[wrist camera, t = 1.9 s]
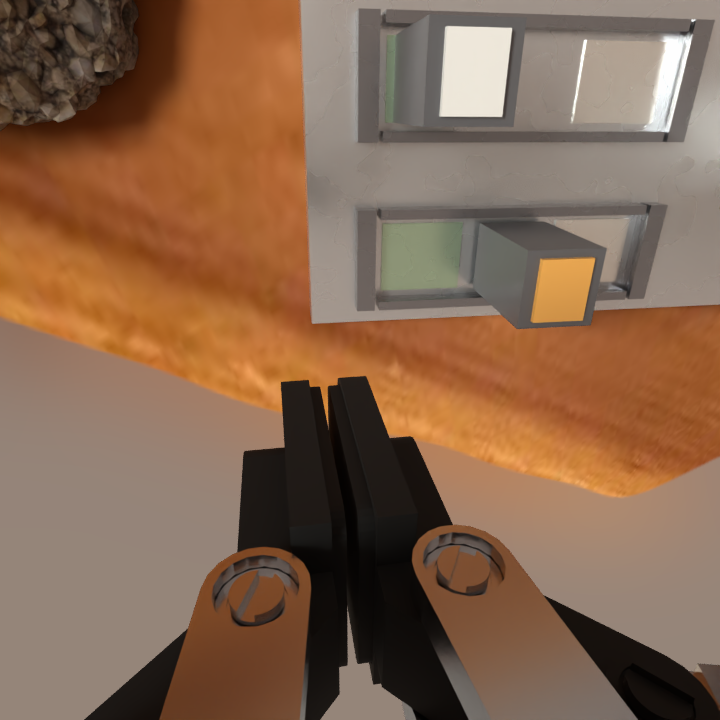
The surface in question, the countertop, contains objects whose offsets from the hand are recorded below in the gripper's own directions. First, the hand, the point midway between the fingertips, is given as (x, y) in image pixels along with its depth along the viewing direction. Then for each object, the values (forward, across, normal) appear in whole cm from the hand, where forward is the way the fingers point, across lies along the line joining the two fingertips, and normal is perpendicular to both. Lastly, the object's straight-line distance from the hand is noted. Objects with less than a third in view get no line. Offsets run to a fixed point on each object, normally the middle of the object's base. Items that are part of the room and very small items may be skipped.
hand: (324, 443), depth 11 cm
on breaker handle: (+14, -6, -7) cm, 17 cm away
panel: (+15, -12, -4) cm, 20 cm away
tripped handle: (+13, -10, 0) cm, 17 cm away
